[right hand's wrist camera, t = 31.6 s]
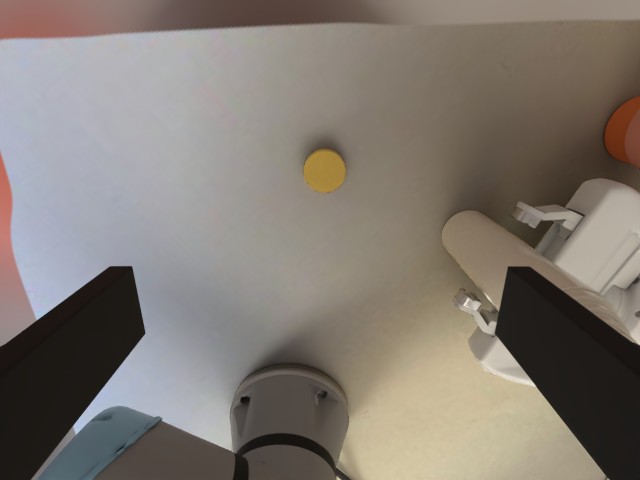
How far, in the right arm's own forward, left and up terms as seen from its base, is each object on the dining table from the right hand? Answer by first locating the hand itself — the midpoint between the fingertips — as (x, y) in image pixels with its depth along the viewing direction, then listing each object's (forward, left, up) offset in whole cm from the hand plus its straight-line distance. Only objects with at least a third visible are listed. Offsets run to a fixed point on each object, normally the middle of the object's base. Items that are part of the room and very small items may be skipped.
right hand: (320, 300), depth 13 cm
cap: (0, 0, -24) cm, 24 cm away
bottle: (-8, -15, -25) cm, 30 cm away
